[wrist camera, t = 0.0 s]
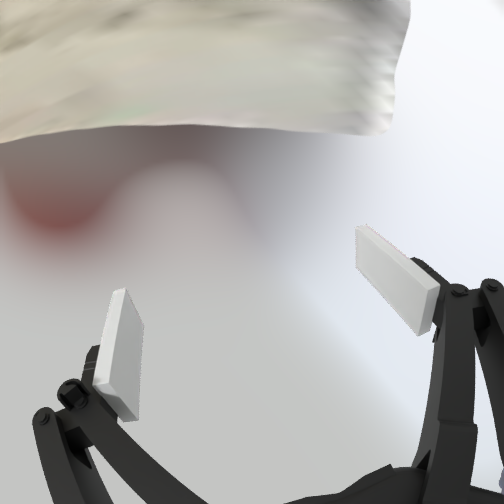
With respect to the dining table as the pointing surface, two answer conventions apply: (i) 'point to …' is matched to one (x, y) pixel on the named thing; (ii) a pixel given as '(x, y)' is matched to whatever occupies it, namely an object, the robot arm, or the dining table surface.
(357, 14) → the dining table surface
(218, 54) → the dining table surface
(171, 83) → the dining table surface
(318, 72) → the dining table surface
